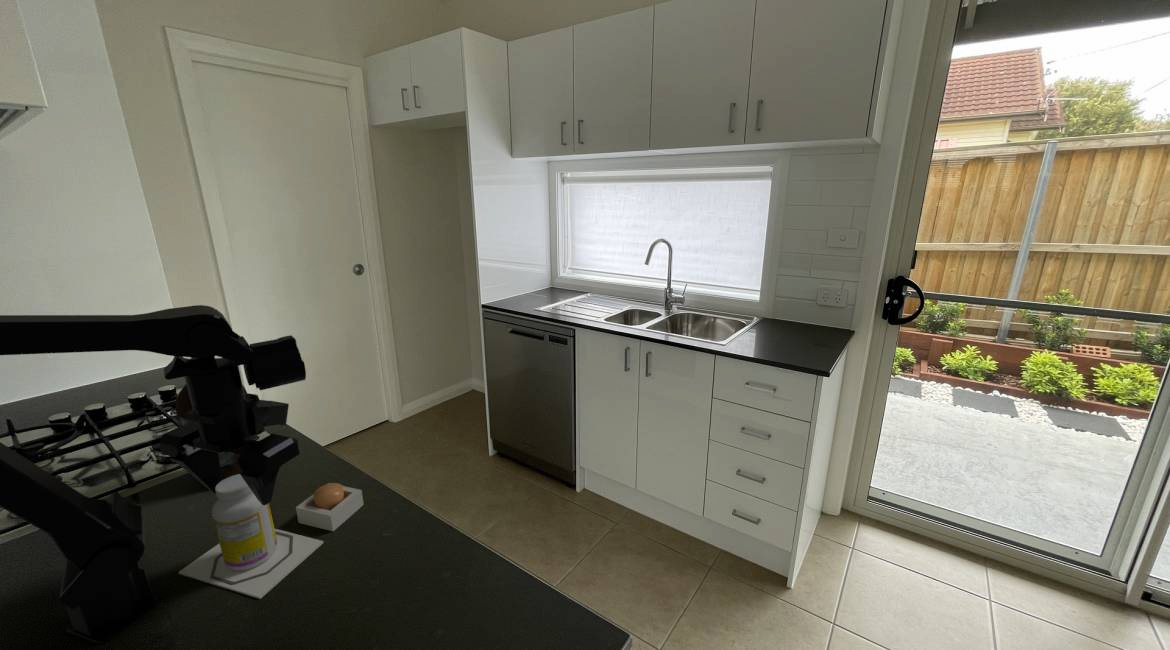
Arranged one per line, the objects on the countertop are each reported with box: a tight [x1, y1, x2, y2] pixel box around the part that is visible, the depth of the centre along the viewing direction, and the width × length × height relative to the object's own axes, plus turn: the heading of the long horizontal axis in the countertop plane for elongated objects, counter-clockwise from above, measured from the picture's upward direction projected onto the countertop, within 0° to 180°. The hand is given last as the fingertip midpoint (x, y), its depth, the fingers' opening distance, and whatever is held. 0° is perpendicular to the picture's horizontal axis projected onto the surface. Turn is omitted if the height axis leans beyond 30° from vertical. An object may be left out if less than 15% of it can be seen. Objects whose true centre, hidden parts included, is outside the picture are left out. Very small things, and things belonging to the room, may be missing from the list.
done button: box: [312, 482, 345, 511], centre depth 80 cm, size 4×4×2 cm
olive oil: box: [174, 357, 255, 488], centre depth 88 cm, size 11×11×25 cm
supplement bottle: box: [211, 474, 277, 570], centre depth 69 cm, size 7×7×13 cm
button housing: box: [295, 482, 364, 532], centre depth 81 cm, size 7×7×3 cm
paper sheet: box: [177, 528, 324, 600], centre depth 71 cm, size 11×15×1 cm
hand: (241, 497), depth 68 cm, fingers open, 9 cm apart
